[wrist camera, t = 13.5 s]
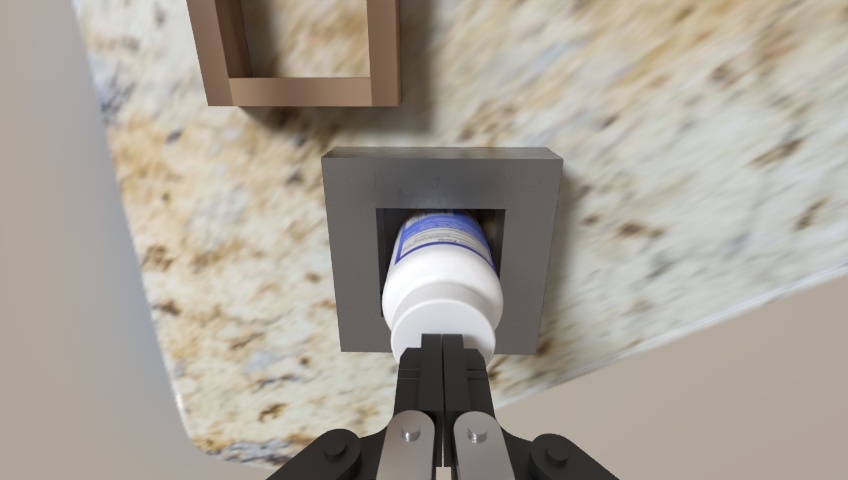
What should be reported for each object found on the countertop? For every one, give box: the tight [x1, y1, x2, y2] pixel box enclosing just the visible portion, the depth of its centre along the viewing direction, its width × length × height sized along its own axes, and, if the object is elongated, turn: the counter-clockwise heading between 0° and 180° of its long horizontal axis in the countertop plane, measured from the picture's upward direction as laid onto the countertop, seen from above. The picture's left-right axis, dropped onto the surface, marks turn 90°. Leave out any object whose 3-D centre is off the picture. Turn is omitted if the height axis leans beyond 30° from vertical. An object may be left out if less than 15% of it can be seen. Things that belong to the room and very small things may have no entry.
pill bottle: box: [382, 208, 503, 366], centre depth 19 cm, size 5×5×10 cm
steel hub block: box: [321, 147, 563, 355], centre depth 22 cm, size 12×12×3 cm
